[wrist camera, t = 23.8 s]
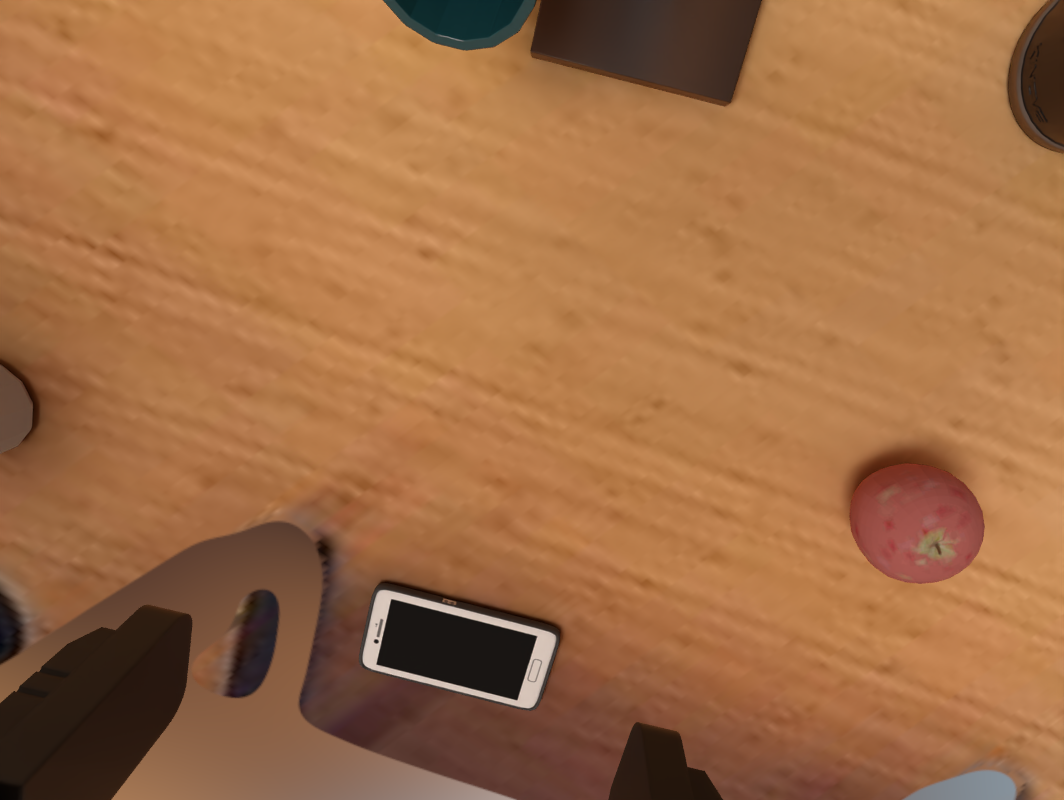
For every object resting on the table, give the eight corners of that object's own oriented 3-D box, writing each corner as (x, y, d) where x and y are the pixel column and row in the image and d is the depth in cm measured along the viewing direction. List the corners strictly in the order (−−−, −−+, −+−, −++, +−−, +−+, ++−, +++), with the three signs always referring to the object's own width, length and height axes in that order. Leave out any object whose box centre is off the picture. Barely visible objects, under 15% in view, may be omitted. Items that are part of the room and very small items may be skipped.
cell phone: (537, 705, 53) (537, 714, 52) (359, 659, 52) (355, 668, 51) (563, 625, 50) (563, 633, 50) (377, 577, 50) (373, 585, 49)
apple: (836, 552, 48) (888, 619, 40) (824, 460, 46) (875, 512, 38) (943, 532, 47) (1016, 597, 39) (935, 437, 45) (1011, 486, 37)
